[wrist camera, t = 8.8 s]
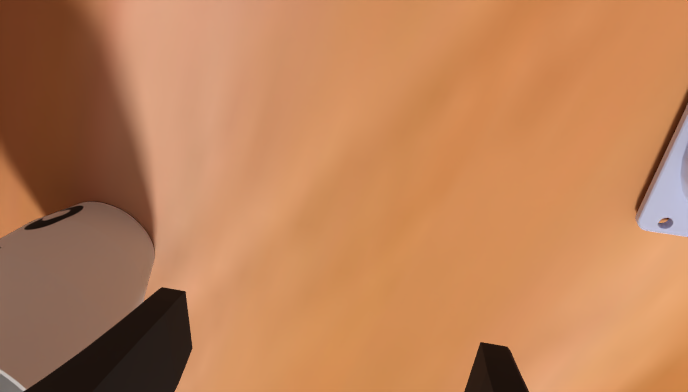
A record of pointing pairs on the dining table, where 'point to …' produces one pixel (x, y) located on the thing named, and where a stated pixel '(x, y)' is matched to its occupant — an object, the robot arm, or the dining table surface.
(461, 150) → the dining table surface
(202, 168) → the dining table surface
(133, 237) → the cup
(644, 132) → the dining table surface
